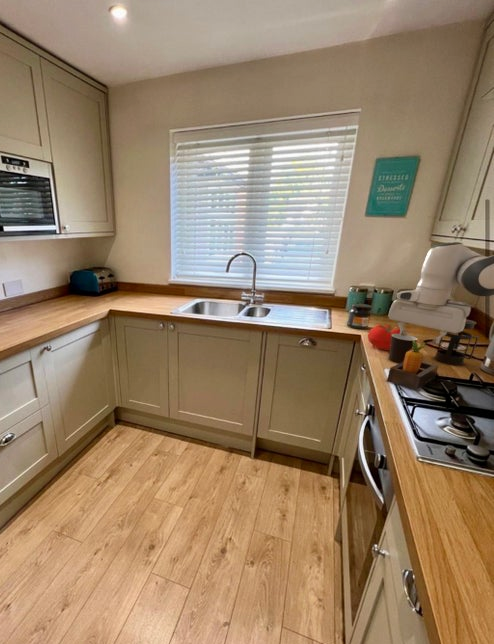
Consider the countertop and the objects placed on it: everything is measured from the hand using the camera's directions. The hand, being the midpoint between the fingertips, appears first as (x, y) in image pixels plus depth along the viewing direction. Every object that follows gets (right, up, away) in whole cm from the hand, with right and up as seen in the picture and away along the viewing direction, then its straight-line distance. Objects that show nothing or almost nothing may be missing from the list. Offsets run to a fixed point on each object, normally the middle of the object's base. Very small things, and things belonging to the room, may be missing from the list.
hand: (418, 339), depth 107 cm
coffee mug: (+11, -8, +25) cm, 29 cm away
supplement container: (+18, +9, +71) cm, 74 cm away
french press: (+31, -8, +26) cm, 41 cm away
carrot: (0, -15, +5) cm, 16 cm away
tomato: (+13, -3, +39) cm, 42 cm away
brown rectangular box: (+3, -14, +7) cm, 16 cm away
